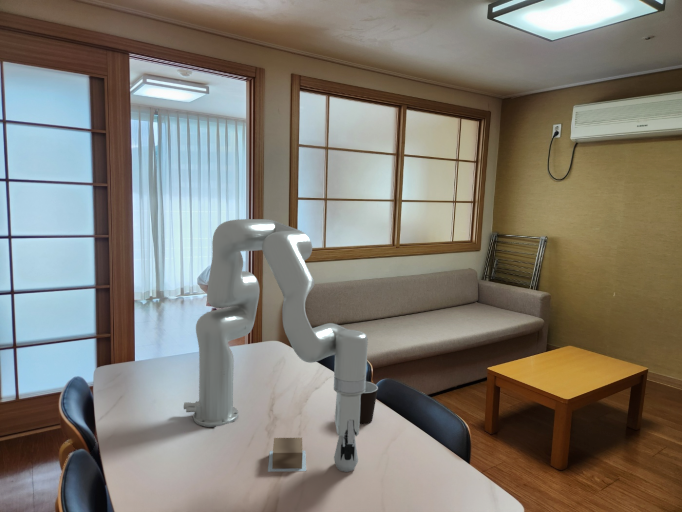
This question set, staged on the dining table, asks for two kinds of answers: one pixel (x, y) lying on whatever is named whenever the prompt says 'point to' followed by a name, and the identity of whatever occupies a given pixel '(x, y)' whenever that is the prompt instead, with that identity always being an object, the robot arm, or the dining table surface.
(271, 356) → the dining table surface
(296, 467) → the base block
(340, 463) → the salt shaker
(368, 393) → the coffee mug
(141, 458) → the dining table surface
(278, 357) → the dining table surface
